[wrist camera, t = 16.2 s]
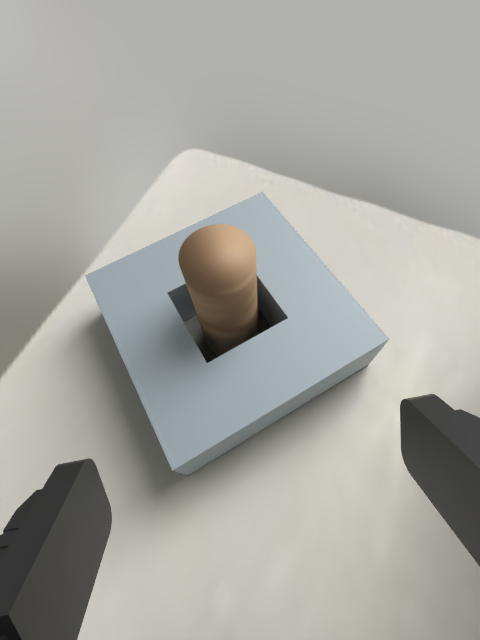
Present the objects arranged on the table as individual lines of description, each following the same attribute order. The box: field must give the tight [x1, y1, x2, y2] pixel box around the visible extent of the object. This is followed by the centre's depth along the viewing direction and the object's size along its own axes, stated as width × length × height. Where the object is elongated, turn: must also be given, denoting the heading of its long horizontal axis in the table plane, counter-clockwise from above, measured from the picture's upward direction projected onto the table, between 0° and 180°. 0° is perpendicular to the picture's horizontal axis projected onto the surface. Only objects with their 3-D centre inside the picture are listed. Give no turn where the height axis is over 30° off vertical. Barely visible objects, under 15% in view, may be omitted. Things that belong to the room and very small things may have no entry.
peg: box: [178, 224, 258, 356], centre depth 25 cm, size 4×4×11 cm
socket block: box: [86, 192, 389, 475], centre depth 27 cm, size 16×16×5 cm
